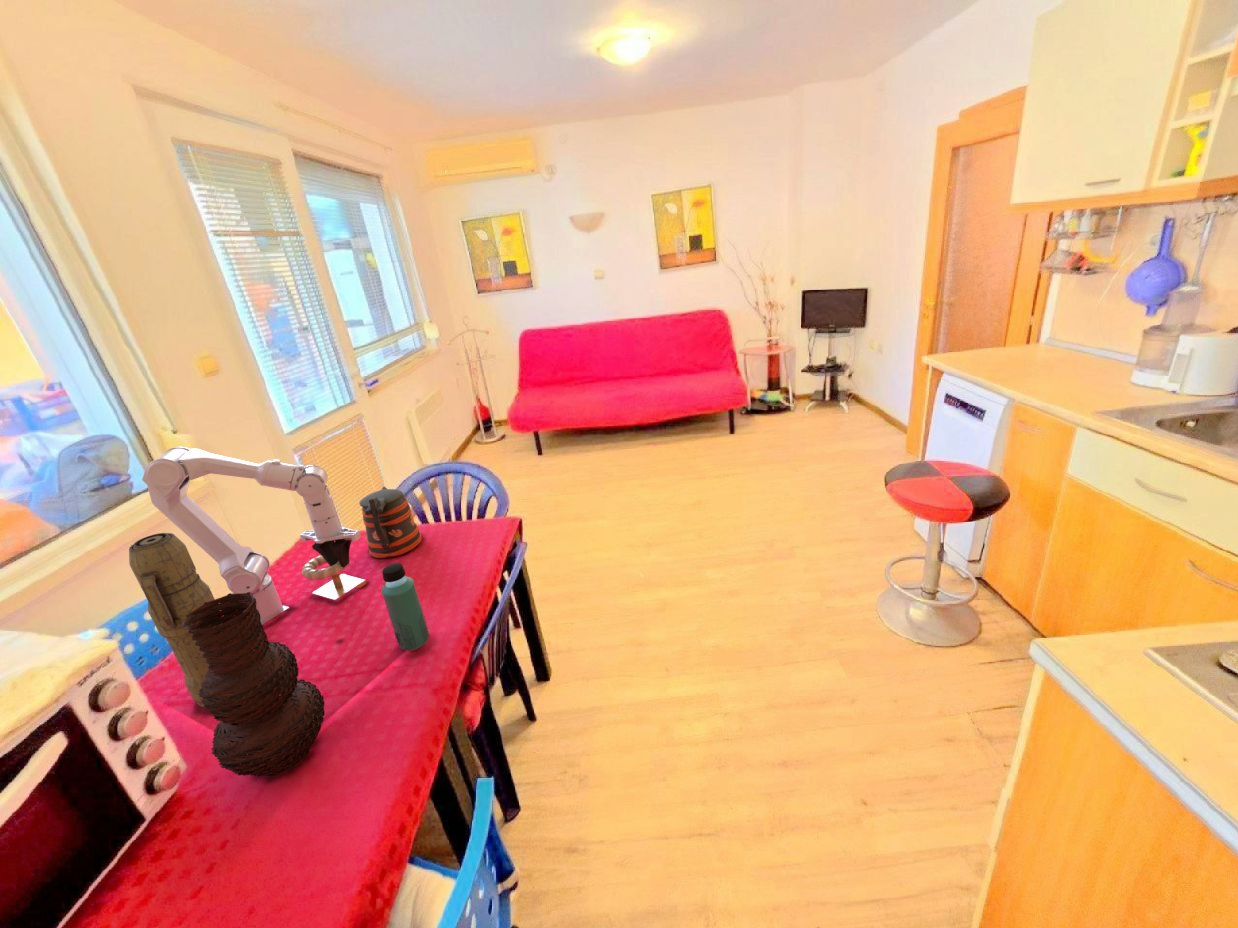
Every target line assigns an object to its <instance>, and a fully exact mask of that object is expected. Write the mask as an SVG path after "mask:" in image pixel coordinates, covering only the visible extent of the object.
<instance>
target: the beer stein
mask: <svg viewBox="0 0 1238 928" xmlns="http://www.w3.org/2000/svg"><path fill="white" fill-rule="evenodd" d="M359 506H360V507H361V513H362V520H363V525H364V526H365V533H366V545H367V548H368V553H369V555H370V556H371V557H373V558H376V559H388V558H395V557H397V556H398V557H399V556H402V555H405V554H406V553H408V552H411V551H413V550H414V549H416V548H417V547H418V546H419V545H420V543H421V542H422V535H421V532H420V529H419V527H418V525H417V523H416V522H415V520H414V517H413V514H412V509H411V506H410V504H409V502H408V498H407V497H406V496H405V494H404V493H403V491H402V490H400V489H394V488H387V487H386V486H383V487H382V488H381V489H380V490H377V491H374V492H372V493H370V494H368V495H366V496H364V497H362V498H361V499H360V500H359Z"/></svg>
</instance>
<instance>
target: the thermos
mask: <svg viewBox="0 0 1238 928" xmlns="http://www.w3.org/2000/svg"><path fill="white" fill-rule="evenodd" d="M128 561H129V567H130V568H131V571H132V573H133V574H134V577H135V578H136V580H137V582H138V584H139V586H140V588H141V589H142V590H141V591H142V592H143V594H144V596H145V598H146V600H147V612H148V614H149V616H150V618H151V620H152V622H153V624H154V626H155V628H156V629H157V632H158V633H159V635H160V636H161V637H162V638H165V639H166V641H167V643H168V645H169V647H170V649H171V651H172V653H173V655H174V657H175V659H176V660H177V663H178V664H179V667H180V668H181V670H182V672H183V674H184V685H185V687H186V689H187V691H188V693H189V694H190V696H191V698H192V700H193V701H194V702H196V704H197V705H198V706H199V707H200V708H204V707H203V706H204V704H202V702H201V701H202V697H200V695H199V694H198V693H200V692H199V690H200V689H201V688H202V687H201V683H202V682H203V680H204V679H205V677H206V676H205V675H206V673H207V672H208V670H209V669H208V667H209V664H207V663H206V661H207V659H206V658H203V657H202V655H203V654H204V652H201V651H200V650H199V649H200V647H199V646H196V645H195V644H196V641H195V640H192V638H191V637H192V636H193V634H192V633H191V634H190V633H188V631H189V630H187V629H184V628H181V627H180V626H182V624H183V622H184V620H185V618H186V617H185V615H188V614H190V613H191V612H193V611H194V610H196V609H197V608H199V607H200V606H202V605H203V604H204V603H205V602H209V601H212V600H215V599H216V598H215V597H214V594H213V592H212V590H211V588H210V586H209V585H208V584H207V583H206V582H205V581H204V580H203V579H201V576H200V574H199V573H197V568H196V566H195V563H194V562H193V559H192V556H191V554H190V552H189V550H188V547H187V546H186V544H185V543H184V542H183V541H182V540H181V539H180V538H179V537H177V536H176V535H175V534H174V533H171V532H159V533H154V534H150V535H148V536H145V537H142V538H140V539H138V540H136V541H134V543H133V544H131V545H130V546H129V547H128ZM193 616H194V615H193ZM201 622H202V621H201ZM197 623H198V622H197ZM191 625H192V624H191ZM188 626H189V625H188ZM209 626H210V625H209ZM204 627H205V626H204ZM204 627H203V628H204ZM186 628H187V626H186ZM199 629H200V628H199ZM196 630H197V629H196ZM211 671H212V670H211ZM209 674H210V673H209Z"/></svg>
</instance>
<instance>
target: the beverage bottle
mask: <svg viewBox="0 0 1238 928" xmlns="http://www.w3.org/2000/svg"><path fill="white" fill-rule="evenodd" d="M381 574H382V580H383V581H384V582H385V584H384V585H383V586H382V588H381V595H382V597H383V600H384V603H385V606H386V611H387V614H388V617H389V621H390V624H391V627H392V631H393V633H394V636H395V637H394V638H395V639H396V644H397V645H398V647H399V648H400V649H401V650H402V651H406V652H407V651H408V652H409V651H414V650H417V649H418V650H419V649H420V648H421V647H423V646H425V644H426V643H428V641H429V638H430V632H429V627H428V624H427V620H426V616H425V615H424V614H425V613H424V609H423V606H422V603H421V601H420V597H419V595H418V591H417V588H416V585H415V581H414V579H413V578H412V577H410V576H407V575H406V570H405V568H404V566H403V564H402V563H400V562H394V563H393V562H392V563H390V564H388V565H386V566H384V568H383V569H382V570H381Z"/></svg>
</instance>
